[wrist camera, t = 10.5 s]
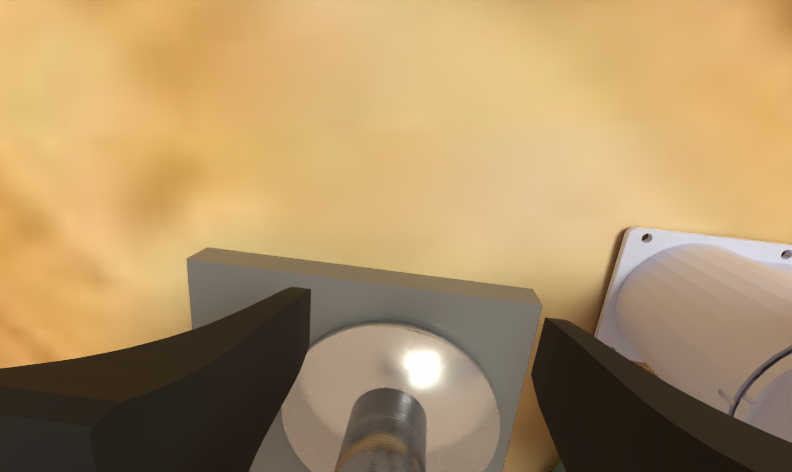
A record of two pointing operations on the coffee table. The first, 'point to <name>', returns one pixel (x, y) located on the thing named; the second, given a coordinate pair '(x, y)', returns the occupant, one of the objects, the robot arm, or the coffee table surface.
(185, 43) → the coffee table surface
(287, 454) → the scale base
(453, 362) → the scale pan
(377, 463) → the cylinder
